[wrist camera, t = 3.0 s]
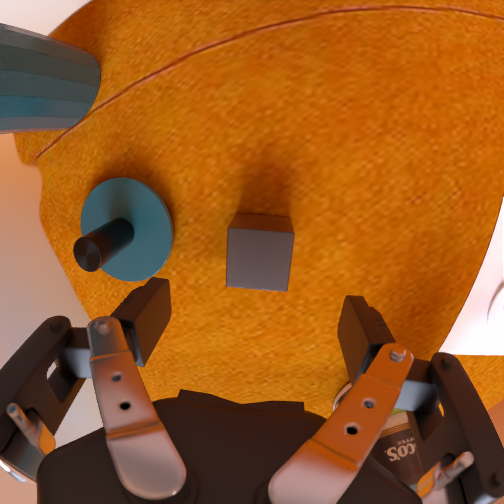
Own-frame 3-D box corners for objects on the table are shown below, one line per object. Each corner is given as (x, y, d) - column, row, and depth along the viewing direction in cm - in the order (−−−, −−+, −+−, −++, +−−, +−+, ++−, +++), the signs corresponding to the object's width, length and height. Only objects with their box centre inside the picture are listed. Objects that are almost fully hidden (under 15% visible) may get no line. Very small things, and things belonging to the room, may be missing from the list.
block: (233, 263, 22) (225, 286, 18) (235, 212, 20) (227, 227, 17) (284, 267, 22) (287, 292, 18) (290, 217, 20) (294, 232, 17)
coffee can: (353, 363, 25) (386, 488, 12) (429, 367, 25) (476, 462, 12) (318, 421, 29) (328, 523, 15) (389, 421, 29) (412, 508, 15)
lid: (81, 251, 23) (40, 279, 17) (100, 162, 20) (51, 171, 14) (160, 291, 23) (130, 332, 17) (191, 199, 20) (160, 219, 15)
